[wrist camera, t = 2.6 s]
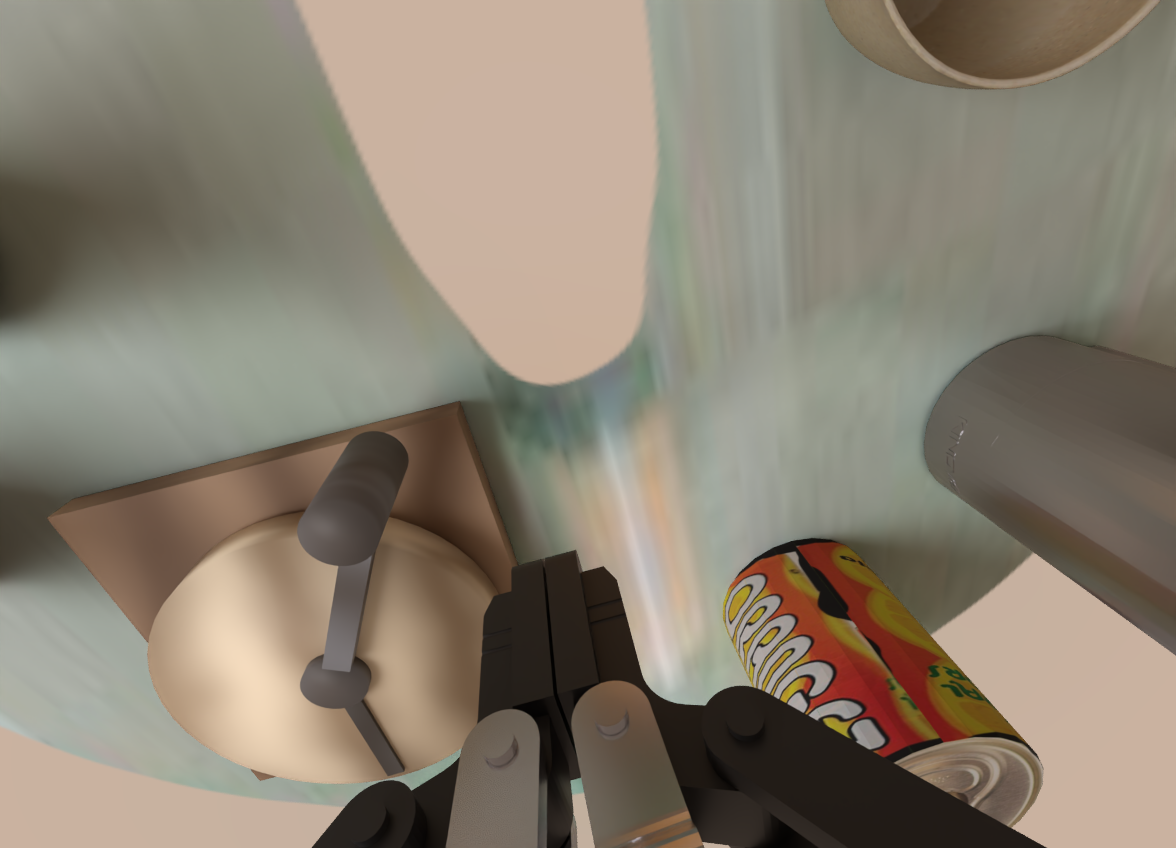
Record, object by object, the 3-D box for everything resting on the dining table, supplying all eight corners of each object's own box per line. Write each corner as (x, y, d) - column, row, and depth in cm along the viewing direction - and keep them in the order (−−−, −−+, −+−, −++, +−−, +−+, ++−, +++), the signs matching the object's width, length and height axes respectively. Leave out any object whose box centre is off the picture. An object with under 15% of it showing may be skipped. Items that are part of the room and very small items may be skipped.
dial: (424, 399, 22) (387, 486, 16) (542, 705, 31) (549, 840, 25) (47, 495, 22) (-140, 621, 16) (270, 776, 31) (206, 932, 24)
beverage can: (868, 522, 30) (1061, 712, 20) (865, 634, 34) (1026, 845, 24) (715, 560, 30) (824, 772, 19) (729, 669, 34) (828, 897, 23)
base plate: (459, 401, 25) (455, 416, 23) (559, 680, 33) (561, 704, 31) (72, 499, 24) (42, 520, 23) (270, 755, 32) (258, 784, 31)
